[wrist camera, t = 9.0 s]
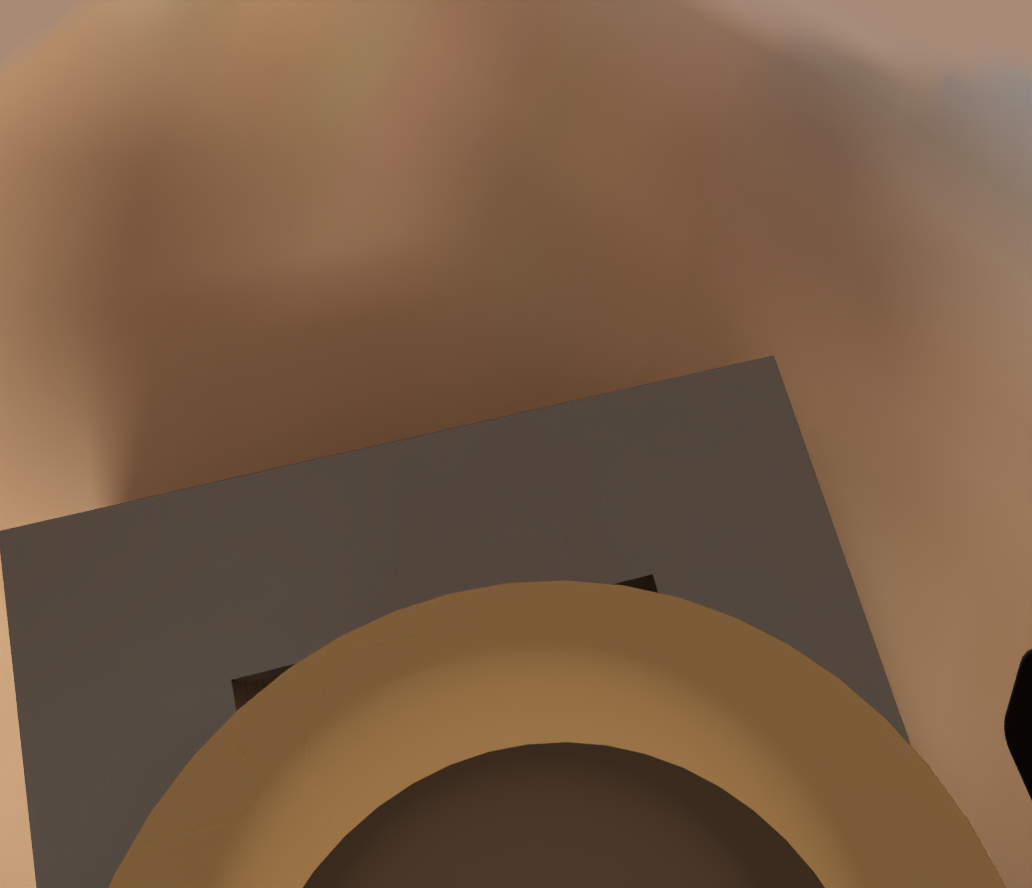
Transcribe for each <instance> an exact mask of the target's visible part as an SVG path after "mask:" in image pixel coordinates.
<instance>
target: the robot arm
mask: <svg viewBox="0 0 1032 888" xmlns="http://www.w3.org/2000/svg"><path fill="white" fill-rule="evenodd" d="M1004 731H1005V738H1006V741H1007V745H1008V748H1009V750H1010V753H1011V755H1012V757H1013V759H1014V762H1015V764H1016V766H1017V768H1018V771H1019V773H1020V775H1021V777H1022V780H1023V782H1024V784H1025V786H1026V788H1027V791H1028V793H1029V795H1030V797H1031V800H1032V649H1030V650H1028V651H1027V652H1026V653H1025V655H1024V656H1023V657H1022V659H1021V662H1020V665H1019V669H1018V672H1017V676H1016V679H1015V683H1014V686H1013V690H1012V694H1011V697H1010V701H1009V704H1008V708H1007V711H1006V715H1005V721H1004Z"/></svg>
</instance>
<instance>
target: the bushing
mask: <svg viewBox="0 0 1032 888" xmlns="http://www.w3.org/2000/svg"><path fill="white" fill-rule="evenodd" d="M109 888H1005V886H1004V883H1003V881H1002V879H1001V877H1000V875H999V874H998V872H997V870H996V868H995V867H994V865H993V863H992V861H991V860H990V858H989V856H988V854H987V852H986V851H985V849H984V847H983V845H982V844H981V842H980V840H979V838H978V837H977V835H976V833H975V831H974V829H973V828H972V826H971V824H970V822H969V821H968V819H967V818H966V816H965V815H964V814H963V812H962V811H961V809H960V808H959V807H958V805H957V804H956V803H955V801H954V800H953V798H952V797H951V796H950V794H949V793H948V792H947V790H946V789H945V787H944V786H943V785H942V783H941V782H940V781H939V779H938V778H937V776H936V775H935V774H934V772H933V771H932V769H931V768H930V767H929V766H928V764H927V763H926V762H925V761H924V760H923V759H922V758H921V757H920V756H919V755H918V754H917V752H916V751H915V750H914V749H913V748H912V747H911V746H910V745H909V744H908V743H907V742H906V740H905V739H904V738H903V737H902V736H901V735H900V734H899V733H898V732H897V731H896V730H895V728H894V727H893V726H892V725H891V724H890V723H889V722H888V721H887V720H886V719H885V718H884V717H883V716H882V715H881V714H879V713H878V712H877V711H876V710H875V709H874V708H872V707H871V706H870V705H869V704H868V703H867V702H866V701H864V700H863V699H862V698H861V697H860V696H859V695H857V694H856V693H855V692H854V691H853V690H852V689H850V688H849V687H848V686H847V685H846V684H845V683H844V682H842V681H841V680H840V679H839V678H837V677H836V676H834V675H833V674H832V673H830V672H829V671H827V670H826V669H824V668H823V667H821V666H820V665H818V664H817V663H815V662H814V661H812V660H811V659H809V658H808V657H806V656H805V655H803V654H802V653H800V652H799V651H797V650H796V649H794V648H793V647H791V646H790V645H788V644H786V643H785V642H783V641H781V640H779V639H777V638H775V637H773V636H771V635H769V634H767V633H765V632H763V631H761V630H759V629H757V628H755V627H753V626H751V625H749V624H747V623H745V622H743V621H741V620H739V619H737V618H735V617H732V616H730V615H727V614H724V613H721V612H718V611H716V610H713V609H710V608H707V607H704V606H702V605H699V604H696V603H693V602H690V601H688V600H685V599H682V598H679V597H674V596H670V595H665V594H660V593H656V592H651V591H647V590H642V589H638V588H633V587H628V586H624V585H613V584H601V583H590V582H578V581H566V580H565V581H544V582H522V583H506V584H500V585H495V586H489V587H484V588H478V589H472V590H467V591H461V592H456V593H450V594H447V595H444V596H441V597H438V598H435V599H431V600H428V601H425V602H422V603H419V604H416V605H412V606H409V607H406V608H403V609H400V610H397V611H394V612H392V613H389V614H387V615H385V616H383V617H381V618H379V619H377V620H374V621H372V622H370V623H368V624H366V625H364V626H361V627H359V628H357V629H355V630H353V631H351V632H349V633H346V634H344V635H342V636H340V637H338V638H337V639H335V640H333V641H332V642H330V643H329V644H327V645H326V646H324V647H322V648H321V649H319V650H318V651H316V652H314V653H313V654H311V655H310V656H308V657H306V658H305V659H303V660H302V661H300V662H298V663H297V664H295V665H294V666H292V667H291V668H289V669H287V670H286V671H285V672H284V673H282V674H281V675H280V676H279V677H277V678H276V679H275V680H274V681H273V682H271V683H270V684H269V685H268V686H266V687H265V688H264V689H263V690H262V691H260V692H259V693H258V694H257V695H255V696H254V697H253V698H252V699H251V700H249V701H248V702H247V703H246V704H244V705H243V706H242V707H241V708H240V709H238V710H237V711H236V712H235V713H234V714H233V715H232V716H231V717H230V719H229V720H228V721H227V722H226V723H225V724H224V725H223V726H222V727H221V728H220V729H219V730H218V731H217V732H216V733H215V734H214V735H213V736H212V737H211V738H210V739H209V740H208V741H207V742H206V744H205V745H204V746H203V747H202V748H201V749H200V750H199V751H198V752H197V753H196V754H195V755H194V756H193V757H192V758H191V760H190V761H189V762H188V764H187V765H186V766H185V768H184V769H183V770H182V771H181V773H180V774H179V775H178V777H177V778H176V779H175V781H174V782H173V783H172V785H171V786H170V787H169V789H168V790H167V791H166V793H165V794H164V795H163V797H162V798H161V799H160V801H159V802H158V803H157V805H156V806H155V807H154V809H153V810H152V811H151V813H150V814H149V816H148V818H147V819H146V821H145V823H144V825H143V826H142V828H141V830H140V831H139V833H138V835H137V837H136V838H135V840H134V842H133V843H132V845H131V847H130V849H129V850H128V852H127V854H126V855H125V857H124V859H123V860H122V862H121V864H120V866H119V867H118V869H117V871H116V872H115V874H114V877H113V879H112V881H111V883H110V886H109Z"/></svg>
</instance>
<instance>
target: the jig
mask: <svg viewBox="0 0 1032 888" xmlns="http://www.w3.org/2000/svg"><path fill="white" fill-rule="evenodd" d="M0 553H1V562H2V571H3V580H4V590H5V599H6V608H7V617H8V627H9V636H10V645H11V654H12V664H13V673H14V682H15V691H16V701H17V710H18V719H19V728H20V738H21V747H22V756H23V765H24V775H25V784H26V793H27V802H28V812H29V821H30V830H31V839H32V849H33V858H34V867H35V876H36V886H37V888H109V886H110V883H111V881H112V879H113V877H114V874H115V872H116V871H117V869H118V867H119V866H120V864H121V862H122V860H123V859H124V857H125V855H126V854H127V852H128V850H129V849H130V847H131V845H132V843H133V842H134V840H135V838H136V837H137V835H138V833H139V831H140V830H141V828H142V826H143V825H144V823H145V821H146V819H147V818H148V816H149V814H150V813H151V811H152V810H153V809H154V807H155V806H156V805H157V803H158V802H159V801H160V799H161V798H162V797H163V795H164V794H165V793H166V791H167V790H168V789H169V787H170V786H171V785H172V783H173V782H174V781H175V779H176V778H177V777H178V775H179V774H180V773H181V771H182V770H183V769H184V768H185V766H186V765H187V764H188V762H189V761H190V760H191V758H192V757H193V756H194V755H195V754H196V753H197V752H198V751H199V750H200V749H201V748H202V747H203V746H204V745H205V744H206V742H207V741H208V740H209V739H210V738H211V737H212V736H213V735H214V734H215V733H216V732H217V731H218V730H219V729H220V728H221V727H222V726H223V725H224V724H225V723H226V722H227V721H228V720H229V719H230V717H231V716H232V715H233V714H234V713H235V712H236V711H237V710H238V709H240V708H241V707H242V706H243V705H244V704H246V703H247V702H248V701H249V700H251V699H252V698H253V697H254V696H255V695H257V694H258V693H259V692H260V691H262V690H263V689H264V688H265V687H266V686H268V685H269V684H270V683H271V682H273V681H274V680H275V679H276V678H277V677H279V676H280V675H281V674H282V673H284V672H285V671H286V670H287V669H289V668H291V667H292V666H294V665H295V664H297V663H298V662H300V661H302V660H303V659H305V658H306V657H308V656H310V655H311V654H313V653H314V652H316V651H318V650H319V649H321V648H322V647H324V646H326V645H327V644H329V643H330V642H332V641H333V640H335V639H337V638H338V637H340V636H342V635H344V634H346V633H349V632H351V631H353V630H355V629H357V628H359V627H361V626H364V625H366V624H368V623H370V622H372V621H374V620H377V619H379V618H381V617H383V616H385V615H387V614H389V613H392V612H394V611H397V610H400V609H403V608H406V607H409V606H412V605H416V604H419V603H422V602H425V601H428V600H431V599H435V598H438V597H441V596H444V595H447V594H450V593H456V592H461V591H467V590H472V589H478V588H484V587H489V586H495V585H500V584H506V583H522V582H544V581H565V580H566V581H578V582H590V583H601V584H613V585H624V586H628V587H633V588H638V589H642V590H647V591H651V592H656V593H660V594H665V595H670V596H674V597H679V598H682V599H685V600H688V601H690V602H693V603H696V604H699V605H702V606H704V607H707V608H710V609H713V610H716V611H718V612H721V613H724V614H727V615H730V616H732V617H735V618H737V619H739V620H741V621H743V622H745V623H747V624H749V625H751V626H753V627H755V628H757V629H759V630H761V631H763V632H765V633H767V634H769V635H771V636H773V637H775V638H777V639H779V640H781V641H783V642H785V643H786V644H788V645H790V646H791V647H793V648H794V649H796V650H797V651H799V652H800V653H802V654H803V655H805V656H806V657H808V658H809V659H811V660H812V661H814V662H815V663H817V664H818V665H820V666H821V667H823V668H824V669H826V670H827V671H829V672H830V673H832V674H833V675H834V676H836V677H837V678H839V679H840V680H841V681H842V682H844V683H845V684H846V685H847V686H848V687H849V688H850V689H852V690H853V691H854V692H855V693H856V694H857V695H859V696H860V697H861V698H862V699H863V700H864V701H866V702H867V703H868V704H869V705H870V706H871V707H872V708H874V709H875V710H876V711H877V712H878V713H879V714H881V715H882V716H883V717H884V718H885V719H886V720H887V721H888V722H889V723H890V724H891V725H892V726H893V727H894V728H895V730H896V731H897V732H898V733H899V734H900V735H901V736H902V737H903V738H904V739H905V740H906V742H907V743H908V744H909V745H910V742H909V739H908V736H907V734H906V731H905V728H904V725H903V722H902V719H901V716H900V714H899V711H898V708H897V705H896V702H895V699H894V697H893V694H892V691H891V688H890V685H889V682H888V680H887V677H886V674H885V671H884V668H883V665H882V662H881V660H880V657H879V654H878V651H877V648H876V645H875V643H874V640H873V637H872V634H871V631H870V628H869V625H868V623H867V620H866V617H865V614H864V611H863V608H862V606H861V603H860V600H859V597H858V594H857V591H856V589H855V586H854V583H853V580H852V577H851V574H850V571H849V569H848V566H847V563H846V560H845V557H844V554H843V552H842V549H841V546H840V543H839V540H838V537H837V535H836V532H835V529H834V526H833V523H832V520H831V517H830V515H829V512H828V509H827V506H826V503H825V500H824V498H823V495H822V492H821V489H820V486H819V483H818V480H817V478H816V475H815V472H814V469H813V466H812V463H811V461H810V458H809V455H808V452H807V449H806V446H805V444H804V441H803V438H802V435H801V432H800V429H799V426H798V424H797V421H796V418H795V415H794V412H793V409H792V407H791V404H790V401H789V398H788V395H787V392H786V390H785V387H784V384H783V381H782V378H781V375H780V372H779V370H778V367H777V364H776V361H775V358H774V356H770V357H766V358H761V359H757V360H753V361H748V362H744V363H739V364H735V365H731V366H726V367H722V368H717V369H713V370H708V371H704V372H700V373H695V374H691V375H686V376H682V377H678V378H673V379H669V380H664V381H660V382H656V383H651V384H647V385H642V386H638V387H633V388H629V389H625V390H620V391H616V392H611V393H607V394H603V395H598V396H594V397H589V398H585V399H580V400H576V401H572V402H567V403H563V404H558V405H554V406H550V407H545V408H541V409H536V410H532V411H528V412H523V413H519V414H514V415H510V416H505V417H501V418H497V419H492V420H488V421H483V422H479V423H475V424H470V425H466V426H461V427H457V428H452V429H448V430H444V431H439V432H435V433H430V434H426V435H422V436H417V437H413V438H408V439H404V440H400V441H395V442H391V443H386V444H382V445H377V446H373V447H369V448H364V449H360V450H355V451H351V452H347V453H342V454H338V455H333V456H329V457H324V458H320V459H316V460H311V461H307V462H302V463H298V464H294V465H289V466H285V467H280V468H276V469H272V470H267V471H263V472H258V473H254V474H249V475H245V476H241V477H236V478H232V479H227V480H223V481H219V482H214V483H210V484H205V485H201V486H196V487H192V488H188V489H183V490H179V491H174V492H170V493H166V494H161V495H157V496H152V497H148V498H144V499H139V500H135V501H130V502H126V503H121V504H117V505H113V506H108V507H104V508H99V509H95V510H91V511H86V512H82V513H77V514H73V515H68V516H64V517H60V518H55V519H51V520H46V521H42V522H38V523H33V524H29V525H24V526H20V527H16V528H11V529H7V530H2V531H0ZM910 746H911V745H910Z"/></svg>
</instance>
